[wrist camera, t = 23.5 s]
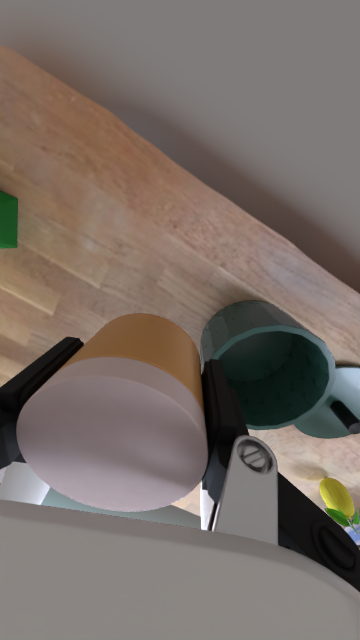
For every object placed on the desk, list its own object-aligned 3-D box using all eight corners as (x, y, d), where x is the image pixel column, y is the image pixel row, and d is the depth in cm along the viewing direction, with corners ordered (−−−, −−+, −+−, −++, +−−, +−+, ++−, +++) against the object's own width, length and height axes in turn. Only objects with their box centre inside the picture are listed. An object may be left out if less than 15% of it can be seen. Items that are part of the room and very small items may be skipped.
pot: (254, 395, 40) (274, 446, 30) (182, 355, 38) (179, 396, 28) (316, 332, 35) (366, 369, 25) (237, 280, 32) (258, 298, 22)
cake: (91, 399, 12) (28, 498, 7) (89, 304, 10) (-2, 360, 5) (190, 414, 12) (190, 522, 7) (210, 323, 10) (229, 395, 5)
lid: (331, 445, 44) (352, 475, 38) (268, 410, 41) (280, 437, 36) (403, 391, 38) (440, 418, 32) (334, 347, 35) (362, 367, 30)
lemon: (306, 473, 48) (334, 529, 38) (331, 465, 46) (367, 521, 37) (317, 488, 50) (346, 546, 40) (341, 481, 48) (377, 539, 39)
